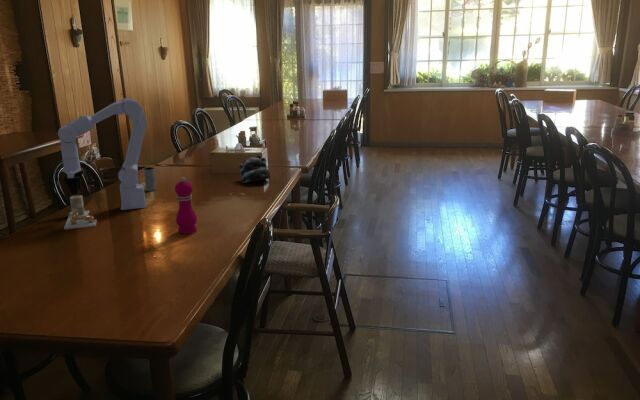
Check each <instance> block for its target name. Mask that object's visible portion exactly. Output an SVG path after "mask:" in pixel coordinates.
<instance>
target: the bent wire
mask: <svg viewBox="0 0 640 400" xmlns="http://www.w3.org/2000/svg"><path fill="white" fill-rule="evenodd" d="M94 218H95V217H94V216H93V215H88V216H80V217H79V216H78V213H77V212H74V213H73V216H72V218H71V224H72V225H75V224H77V222H76V220H82V219H85V220H89V223H93V222H94Z"/></svg>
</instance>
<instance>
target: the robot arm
mask: <svg viewBox="0 0 640 400" xmlns="http://www.w3.org/2000/svg"><path fill="white" fill-rule="evenodd" d="M114 115H123V116H124V115H126V116H127V117H128V118H129V120H130V121H131V122H132V127H131V128H132V129H131V133H130V135H129V136H130V137H129V140H128V141H129V142H128V147H127V150H126V155H125V159H124V162H123V164H122V167H121V168H120V170H119V171H118V172H117V177H118V180H119V181H120V184H119V191H120V192H119V193H120V199H121V205H120V210H121V211H125V210H134V209H135V210H137V209H145V208H146V203H147V198H146V197H145V195H146V194H145V189H144V188H145V187H144V184H139V176H138V172H139V170H138V169H139V168H138V163H139V158H140V154H141V151H142V146H143V142H144V138H145V134H146V133H145V132H146V129H147V126H148V125H147V124H148V121H147V118H146V115H145V112H144V109H143V107H142V106H141V104H140V103H139V102H138V101H137V100H136V99H132V98H131V97H124V98H122V99H121V100H117V101H114V102H112V103H110V104H109V105H107V106H106V107H104V108H103V109H101V110H99V111H97V112H96V113H94V114H92V115H87V114H86V115H79V116H78V119H75V120H73V122H70V121H69V122H67V123H66V124H67V125H63V126H61V127H60V128H59V129H58V131H57V136H58V138H59V139H60V140H59V143H60V151H61V157H62V164H63V168H61V169H60V173H61V172H62V173H64V174H66V175H67V176H63V178H62V179H63V181H64V182H65V183H66V185H67V187H68V189H69V192H70V194H71V196H78V195H79V190H80V189H81V183H82V180H81V179H82V175H83V171H84V170H82V168H81V163H80V155H79V148H78V145H77V141H76V140H77V137H81V136H82V135H85V134H86V133H88V132H90V131H92V130H94V129H95V126H96V124H98V123H99V122H101V121H104V120H106V119H108V118H110V117H112V116H114Z"/></svg>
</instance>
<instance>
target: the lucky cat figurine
mask: <svg viewBox="0 0 640 400" xmlns="http://www.w3.org/2000/svg"><path fill="white" fill-rule="evenodd" d="M238 168H239V173H240V175H241V183H242V182H244V183H246V184H248V183H249V184H250V183H252V182H259V181H265V180H264V179H267V180H269V179H271V172H270V170H269V169H268V166H267V160H266V157H261V155H257V156H256V157H255V156H254V157H250V158H248V159H244V160H243V163H240V164H239V165H238ZM258 180H259V181H258Z"/></svg>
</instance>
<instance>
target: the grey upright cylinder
mask: <svg viewBox="0 0 640 400" xmlns="http://www.w3.org/2000/svg"><path fill="white" fill-rule="evenodd" d="M143 173H144V184H145V190H146V192H155V191H157V182H156V173H155V167H152V166H151V167H149V166H148V167H144V168H143Z"/></svg>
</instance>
